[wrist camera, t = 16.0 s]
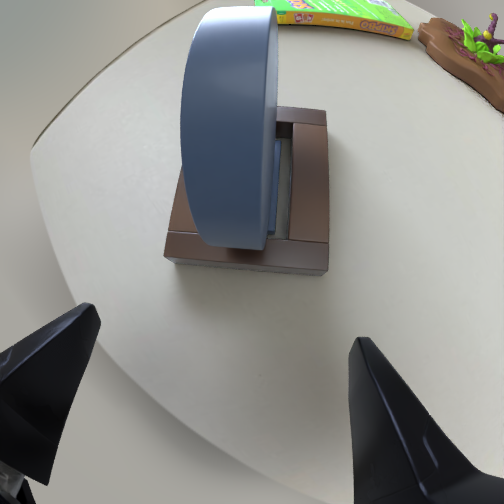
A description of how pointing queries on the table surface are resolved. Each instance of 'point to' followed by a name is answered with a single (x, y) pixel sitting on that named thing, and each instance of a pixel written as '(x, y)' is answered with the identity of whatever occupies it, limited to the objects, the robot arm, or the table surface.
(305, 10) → the game box
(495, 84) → the plant
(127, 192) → the table surface
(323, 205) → the stand
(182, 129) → the disc
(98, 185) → the table surface
